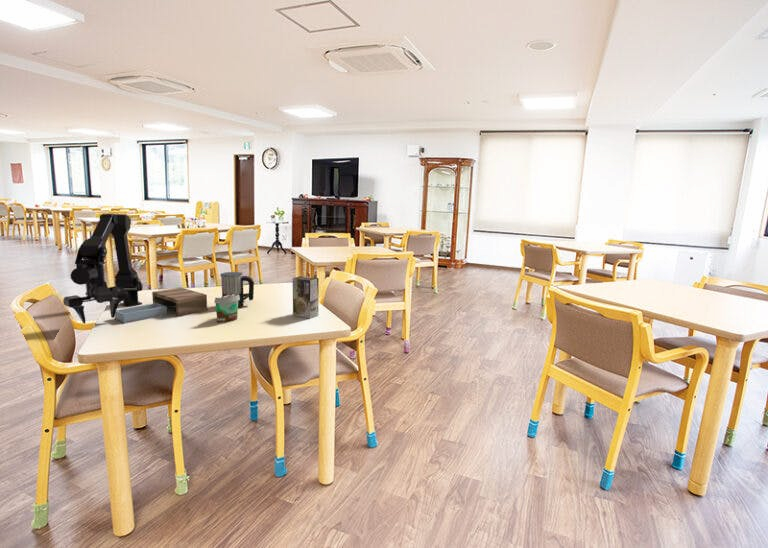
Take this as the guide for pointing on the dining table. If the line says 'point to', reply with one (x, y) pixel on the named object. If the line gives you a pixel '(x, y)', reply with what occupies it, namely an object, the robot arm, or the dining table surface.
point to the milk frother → (236, 285)
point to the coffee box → (305, 296)
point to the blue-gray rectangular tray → (140, 313)
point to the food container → (227, 307)
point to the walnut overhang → (182, 300)
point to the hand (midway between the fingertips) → (98, 320)
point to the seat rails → (170, 305)
